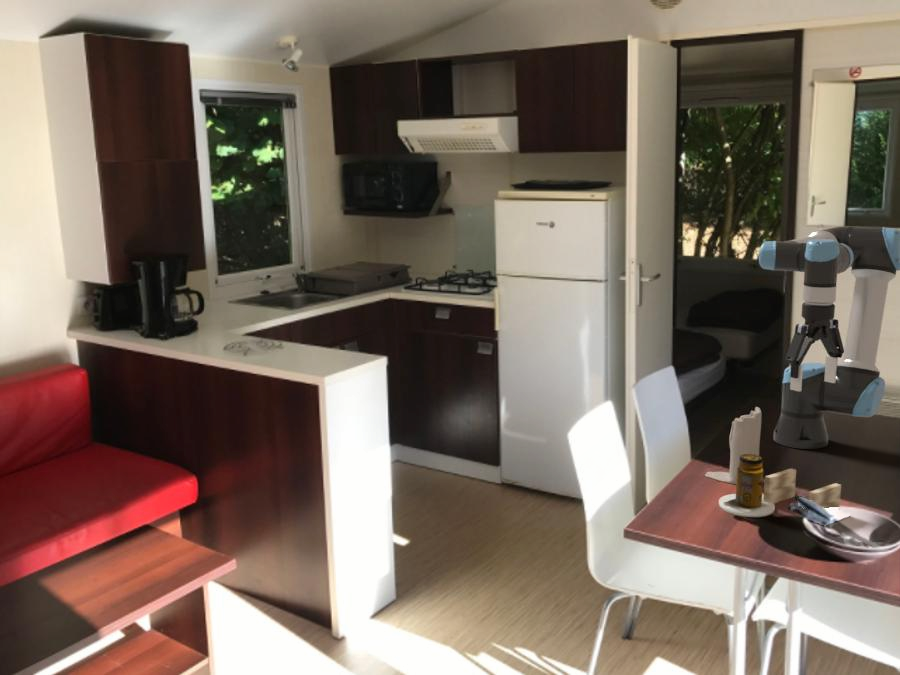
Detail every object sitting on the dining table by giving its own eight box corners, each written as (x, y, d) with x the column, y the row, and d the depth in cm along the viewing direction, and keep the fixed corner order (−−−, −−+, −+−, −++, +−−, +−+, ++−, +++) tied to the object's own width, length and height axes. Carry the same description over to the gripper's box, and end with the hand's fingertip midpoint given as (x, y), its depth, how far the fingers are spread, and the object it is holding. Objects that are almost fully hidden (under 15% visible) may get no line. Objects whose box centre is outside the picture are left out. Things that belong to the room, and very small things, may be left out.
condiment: (769, 504, 222) (772, 457, 219) (747, 513, 217) (750, 465, 214) (743, 496, 227) (746, 450, 225) (722, 504, 222) (724, 457, 220)
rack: (779, 491, 232) (781, 464, 231) (850, 516, 216) (852, 488, 214) (753, 499, 227) (754, 472, 226) (824, 526, 211) (826, 497, 209)
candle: (709, 469, 248) (713, 398, 244) (761, 479, 240) (765, 406, 236) (700, 477, 243) (703, 405, 238) (752, 488, 235) (757, 413, 231)
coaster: (742, 492, 232) (742, 489, 231) (786, 509, 221) (786, 506, 221) (707, 504, 225) (707, 501, 225) (750, 521, 214) (750, 518, 214)
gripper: (836, 295, 235) (830, 375, 239) (772, 305, 222) (768, 390, 226) (862, 299, 229) (856, 381, 233) (799, 310, 215) (793, 397, 220)
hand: (813, 386), depth 229 cm, fingers open, 13 cm apart
